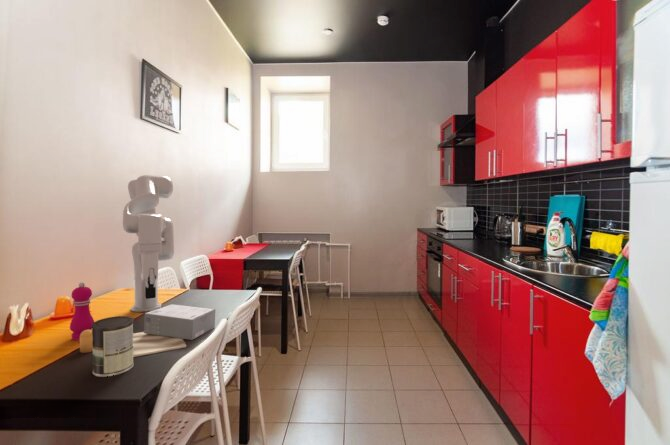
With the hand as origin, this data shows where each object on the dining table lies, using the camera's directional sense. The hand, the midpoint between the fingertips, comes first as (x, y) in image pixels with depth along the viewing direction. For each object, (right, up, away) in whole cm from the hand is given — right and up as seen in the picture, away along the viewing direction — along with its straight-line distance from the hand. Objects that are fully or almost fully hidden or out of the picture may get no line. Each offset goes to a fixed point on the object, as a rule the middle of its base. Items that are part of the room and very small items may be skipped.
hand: (150, 297), depth 129 cm
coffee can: (+3, -15, -26) cm, 30 cm away
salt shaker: (-14, -15, -13) cm, 24 cm away
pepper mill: (-24, -14, -2) cm, 28 cm away
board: (+4, -14, -5) cm, 16 cm away
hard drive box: (-1, -9, +7) cm, 12 cm away
